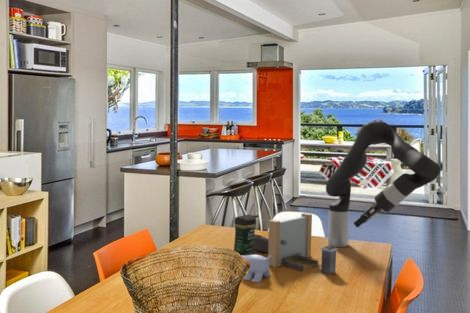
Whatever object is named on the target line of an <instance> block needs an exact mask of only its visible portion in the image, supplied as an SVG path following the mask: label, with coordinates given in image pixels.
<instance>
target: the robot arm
mask: <svg viewBox="0 0 470 313" xmlns="http://www.w3.org/2000/svg"><path fill="white" fill-rule="evenodd" d="M380 144H381V145H382V144H385V145H388V146H390V147H391V152H392V155H393V156H394V158H396V159H397V161H399V162H400V163H402V164H403V165H404V166H406V167H407V168H409V169H410V170H411V171H412V172H413V173H411V174H410V173H407V172H405V173H401V175H399V176H398V177H397V178H396V179H395V180H394V181H392V182H391V183H389V184H388V185H387V186H385V187H384V188H383V189H382V190H380V192H379V193H377V194H376V195H375V196H374V201H375V203H372V204H371V205H370V206H369V208H367V209H366V210H365V211H364V213H363V214H361V215H360V216H359V218H358V219H357V220H355V221H354V222H353V225H354V226H355V227H356V228H359V227H361V226H362V225H363V224H365V223H367V222H368V221H369V220H371V219H373V218H374V217H377V216H378V215H380V214H381V213H382V211H384V212H386V213H389V212H391V211H392V210H394V208H395V207H397V206H398V205H400V204H401V202H403V201H404V200H405V199H406V198H407V197H408V196H409V195H410V194H412V193H413V192H414V191H415V190H417V189H419V188H421V187H423V186H425V185H428V184H430V183H431V182H433V181H435V180H436V179H437V178H438V177H439V175H440V173H441V166H440V165H439V164H438V163H437V162H436V161H434V159H432V158H430V157H428V156H427V155H425V154H424V153H422V152H420V151H419V150H418V148H415V147H413V145H411V144H409V143H408V142H406V141H405V140H404V139H403V138H402V137H401V136H400V135H399V134H398V133H397V131H395V130H394V129H393V127H392V126H390V125H389V124H388V123H387V122H385V121H369V122H366V123H364V124H363V125H362V126H361V128H360V130H359V132H358V133H357V136H356V138H355V141H354V143H353V144H352V146H351V148H350V149H349V151H348V152H347V153H346V155H345V157H344V158H343V160H342V161H341V163H340V165H339V166H338V167H337V169H336V170H335V171H334V173H332V174H331V176H330V177H329V178H328V180H327V182H326V184H325V185H326V186H325V192H326V194H327V195H328V196H330V197H335V198H336V197H338V199H337V200H335V201H333V202H330V204H329V205H328V230H327V232H328V233H327V246H331V247H334V248H346V247H347V246H348V245H349V207H350V205H351V204H350V203H351V194H352V193H351V191H352V184H351V183H352V182H351V180H350V179H352V178H353V177H355V176H357V175H358V174H360V173H361V172H362V170H363V169H364V167H365V166H366V164H367V162H368V161H367V160H368V157H367V153H366V150H367V149H368V147H370V146H372V145H380Z"/></svg>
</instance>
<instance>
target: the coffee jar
mask: <svg viewBox="0 0 470 313" xmlns="http://www.w3.org/2000/svg"><path fill="white" fill-rule="evenodd" d="M256 219H257V217H256V216H255V215H252V214H245V215H244V214H243V215H240V216H236V217H234V229H235V232H234V233H235V234H234V244H233V252H234V251H236V252H238V253H239V254H240V255H242V256H243V255H245V256H246V255H254V254H255V255H256V250H255V234H256V233H255V229H256V225H257V221H256Z"/></svg>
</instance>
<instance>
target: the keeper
mask: <svg viewBox="0 0 470 313" xmlns="http://www.w3.org/2000/svg"><path fill="white" fill-rule="evenodd" d="M282 266H285V267H288V268H291V269H294V270H297V271H301V272H302V271H306V270H308V269H311V268H314V267H317V266H319V260H318V259H314V258H310V257H305V256H302V253H298V254H295V255H291V256H288V257H285V258H283V264H282Z"/></svg>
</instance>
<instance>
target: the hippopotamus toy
mask: <svg viewBox="0 0 470 313" xmlns="http://www.w3.org/2000/svg"><path fill="white" fill-rule="evenodd" d="M271 256H272V255H270V256H269V257H268V256H267V257H265V256H264V255H261V254H256V253H255V254H254V255H246V256H245V255H243V256H242V257H244V258H245V259H246V260H248V261H249V263H250V265H251V266H250V270H249V271H248V273H247V275H246V277H245V278H244V279H243V280H244V281H251V282H254V283H261V282H262V279H263V277H266V278H267V277H270V276H271V273H270V267H271V266H270V265H269V261H268V260H269V259H270V257H271ZM253 276H254V277H253Z"/></svg>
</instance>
